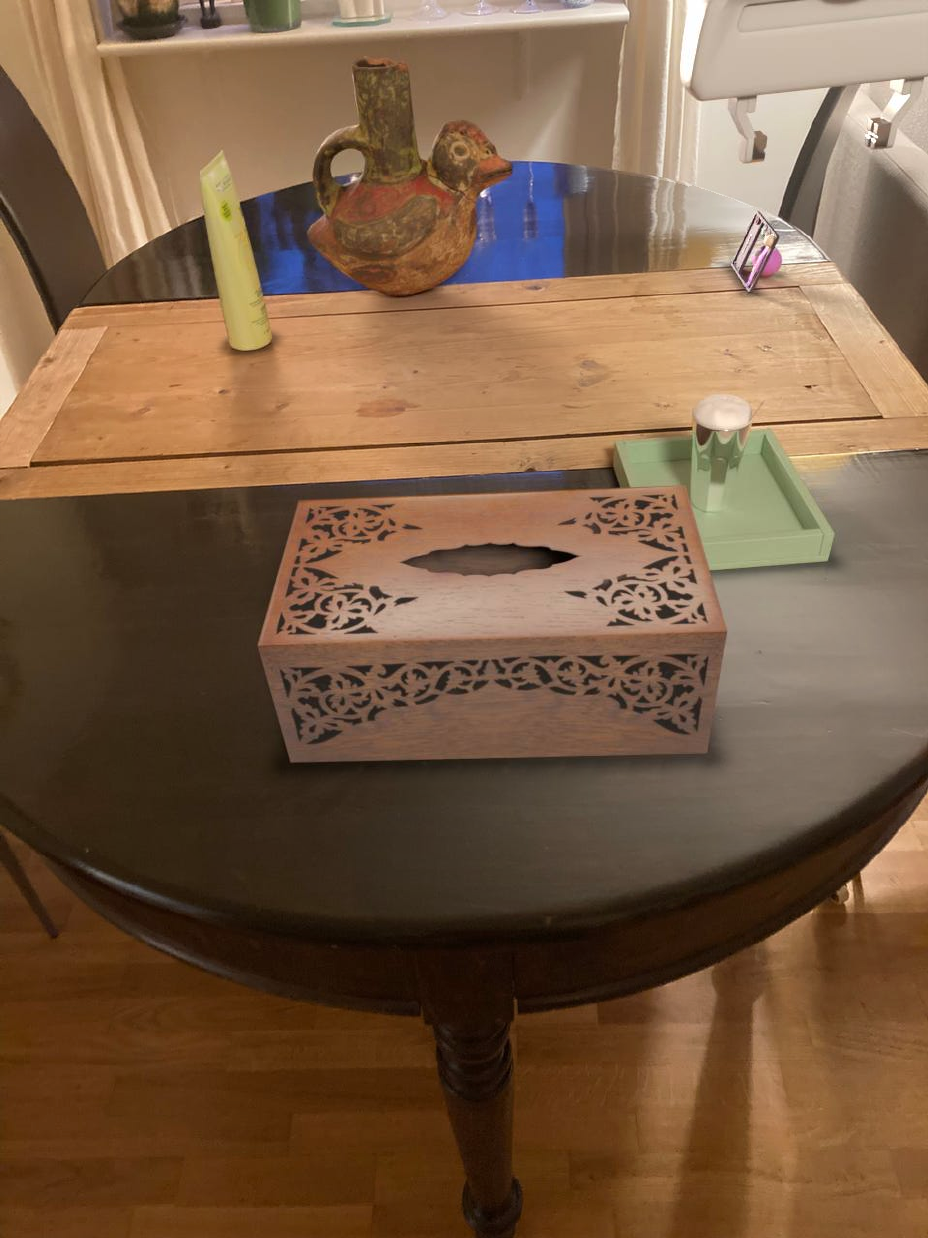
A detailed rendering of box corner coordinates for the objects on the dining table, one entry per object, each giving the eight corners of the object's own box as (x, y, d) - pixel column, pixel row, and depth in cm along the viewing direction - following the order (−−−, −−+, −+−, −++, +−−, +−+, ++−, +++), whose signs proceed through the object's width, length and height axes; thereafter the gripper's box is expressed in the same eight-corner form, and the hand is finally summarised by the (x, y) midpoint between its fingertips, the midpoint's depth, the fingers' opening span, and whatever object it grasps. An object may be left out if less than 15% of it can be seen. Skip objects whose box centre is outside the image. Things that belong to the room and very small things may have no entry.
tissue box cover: (290, 762, 58) (257, 645, 51) (322, 612, 69) (298, 500, 62) (706, 753, 56) (727, 631, 50) (672, 601, 67) (685, 485, 61)
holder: (766, 454, 81) (771, 428, 80) (828, 561, 70) (835, 533, 68) (613, 466, 81) (614, 440, 80) (648, 575, 70) (650, 548, 68)
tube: (282, 344, 105) (246, 159, 92) (242, 358, 103) (198, 170, 90) (261, 329, 109) (223, 149, 96) (221, 341, 107) (177, 159, 94)
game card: (750, 208, 110) (771, 233, 103) (789, 220, 111) (812, 246, 104) (725, 262, 114) (743, 291, 107) (762, 274, 115) (783, 302, 108)
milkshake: (729, 527, 72) (747, 413, 66) (671, 504, 75) (683, 392, 69) (759, 502, 75) (779, 389, 68) (701, 480, 78) (715, 370, 71)
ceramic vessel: (507, 316, 107) (499, 70, 91) (295, 313, 111) (250, 78, 95) (525, 261, 120) (521, 37, 103) (334, 261, 124) (301, 46, 108)
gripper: (988, -102, 61) (936, 127, 70) (681, -68, 61) (669, 156, 70) (1039, -95, 56) (975, 150, 65) (706, -58, 57) (689, 181, 66)
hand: (814, 153), depth 68 cm, fingers open, 8 cm apart
